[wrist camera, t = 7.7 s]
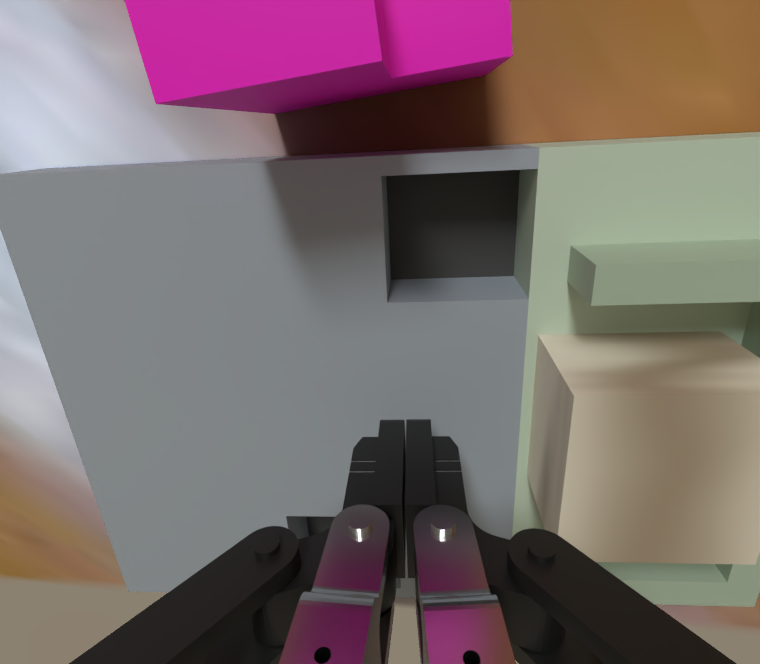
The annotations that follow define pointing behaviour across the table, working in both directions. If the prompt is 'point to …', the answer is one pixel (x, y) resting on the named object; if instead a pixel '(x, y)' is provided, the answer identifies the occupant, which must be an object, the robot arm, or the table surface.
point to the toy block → (312, 48)
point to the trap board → (362, 321)
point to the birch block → (648, 446)
